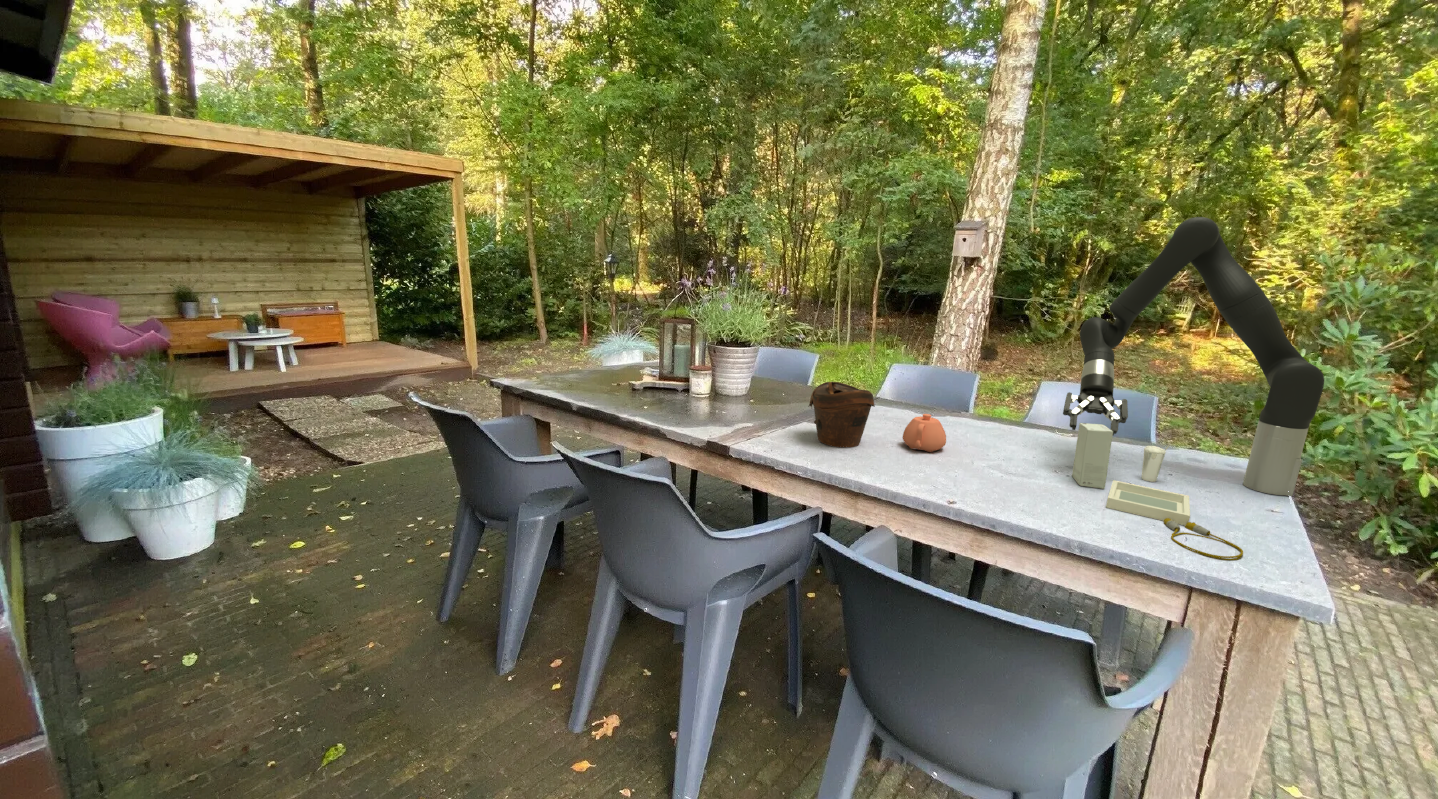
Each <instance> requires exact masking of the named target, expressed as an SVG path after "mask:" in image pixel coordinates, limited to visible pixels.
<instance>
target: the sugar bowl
mask: <svg viewBox="0 0 1438 799" xmlns="http://www.w3.org/2000/svg"><path fill="white" fill-rule="evenodd" d="M902 441H903V442H904V443H905V445H907V447H909V449H912V450H920V451H925V452H927V453H933V452H934V451H939V450H941V449H942V448H944V447H945V446H946V444H947V436H946V431H945V429H944V427H943V425H942V423H941V421H940V420H939V419H938V418H934V417H932V414H930V413H922V416H915V417H913V418H912V419H911V420H910V421H909V423H907V425H906V426H905V429H904V430H903V434H902Z"/></svg>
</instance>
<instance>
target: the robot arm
mask: <svg viewBox="0 0 1438 799" xmlns="http://www.w3.org/2000/svg"><path fill="white" fill-rule="evenodd" d="M1158 254H1159V255H1157V256H1156V257H1155V259H1154V260H1153V261H1152V263H1151V264H1150V265H1148V266H1147V267H1146V269H1145V270H1143V272H1141V273H1140V274H1139V275H1138V276H1137V277H1136V278H1135V279H1134V280H1133V281H1132V282H1130V283H1129V285H1127V287H1126V288H1125V289H1124V290H1123V291H1121V293H1120V294H1119V295H1118V296H1117V297H1116V298H1115V299H1114V301H1112V303H1111V304H1110V305H1109V307H1108V308H1109V309H1108V310H1109V312H1110V313H1111V314H1112V315H1113V316H1115V320H1114V322H1113V323H1111V322H1109V321H1107V320H1105V319H1103V318H1102V317H1097V316H1095V317H1094V316H1093V317H1089V318H1087V320H1085V321H1084V322H1083V324H1082V326H1081V327H1080V330H1079V338H1080V340H1079V341H1080V344H1081V348H1082V351H1083V354H1084V357H1083V358H1084V360H1083V366H1082V367H1083V368H1082V371H1081V376H1080V389H1079V395H1075V394H1073V393H1072V392H1070V391H1069V392H1066V393H1067V394H1066V396H1065V399H1064V400H1065V401H1064V407H1063V409H1062V410H1063V411H1062V415H1063V416H1068V417H1069V427H1070V428H1071V430H1072V431H1076V429H1077V424H1078V417H1079V415H1082V414H1084V413H1085V412H1087V413H1088V414H1096V415H1104V417H1105V418H1106V419H1108V420H1109V421H1110V428H1109V429H1110V430H1112V431H1113V436H1114V435H1116V434H1117V433H1118V431H1119V424H1120V423H1121V424H1125V423H1126V422H1127V420H1128V418H1129V407H1128V405H1129V404H1128V400H1127V399H1126V398H1123V399H1121V400H1115V399H1114V387H1115V367H1114V366H1115V352H1114V350H1113V349H1116V348H1117V347H1118V346H1119V345H1120V344H1121V343H1122V341H1123V340H1124V339H1125V337H1126V334H1128V331H1129V329H1130V327H1131V326H1132V324H1133V323H1134V321H1135V320H1136V318H1137V317H1138V316H1139V315H1140V314H1141V313H1142V312H1143V311H1144V310H1145V309H1146V308H1147V307H1148V306H1149V305H1150V304H1152V302H1153V301H1154V300H1155V299H1156V298H1157V296H1158V295H1159V294H1160V292H1162V291H1163V290H1164V288H1165V287H1166V286H1167V285H1168V284H1169V282H1170V281H1171V280H1172V279H1173V278H1174V277H1175V276H1176V275H1178V273H1179V272H1180V271H1182V270H1183V269H1184V268H1185V267H1186V266H1188V264H1190V263H1191V264H1192V266H1193V267H1194V268H1195V269H1196V270H1197V272H1198V273H1199V275H1200V277H1201V278H1202V280H1203V283H1204V285H1205V287H1206V289H1207V291H1208V294H1209V296H1210V298H1211V300H1212V301H1213V303H1214V305H1215V308H1217V309H1218V312H1219V313H1220V315H1221V316H1222V317H1223V318H1224V320H1225V322H1226V323H1227V324H1228V325H1229V327H1230V328H1231V329H1232V331H1233V332H1234V333H1235V334H1236V336H1237V337H1238V338H1239V339H1240V340H1241V341H1242V343H1244V344H1245V345H1246V346H1247V348H1248V349H1249V351H1251V353H1252V355H1253V356H1254V357H1255V359H1256V361H1257V363H1258V365H1259V367H1260V369H1261V371H1262V373H1263V375H1264V378H1265V380H1266V381H1267V384H1268V386H1269V391H1268V394H1267V398H1266V403H1265V404H1264V407H1263V409H1261V412H1260V414H1259V417H1258V418H1259V419H1258V422H1257V425H1256V429H1255V433H1254V437H1253V438H1254V439H1253V441H1252V446H1251V450H1250V454H1249V458H1248V462H1247V465H1246V470H1245V474H1244V477H1243V482H1242V485H1243V486H1244V487H1246V488H1248V489H1251V490H1254V491H1256V492H1261V493H1265V494H1269V495H1276V496H1287V497H1293V495H1294V492H1295V488H1296V485H1297V481H1298V476H1299V473H1300V470H1301V466H1302V464H1303V459H1302V454H1303V450H1304V446H1305V442H1306V439H1307V435H1308V431H1309V428H1310V425H1311V422H1312V420H1313V419H1314V418H1315V415H1316V413H1317V410H1318V407H1319V404H1320V400H1321V397H1322V394H1323V390H1324V385H1325V376H1324V374H1323V372H1322V370H1321V369H1320V368H1319V367H1318V366H1316V365H1315V364H1312V363H1311V362H1308V360H1306V359H1305V358H1304V357H1303V355H1302V354H1301V353H1300V352H1299V351H1298V350H1297V349H1296V347H1295V346H1294V345H1293V344H1292V342H1291V341H1290V340H1289V339H1288V337H1287V336H1286V333H1285V331H1284V328H1283V326H1282V324H1281V320H1280V317H1279V316H1278V313H1277V312H1276V310H1275V307H1274V306H1273V305H1272V302H1271V300H1269V298H1268V296H1267V295H1266V294H1265V292H1264V291H1263V289H1261V287H1260V286H1259V285H1258V283H1257V282H1256V281H1255V280H1254V279H1253V277H1252V276H1251V275H1250V274H1249V273H1248V272H1247V271H1246V270H1245V268H1243V266H1241V265H1240V264H1239V263H1238V262H1237V261H1236V259H1235V258H1234V257H1233V256H1232V254H1231V252H1230V250H1229V249H1228V247H1227V245H1226V244H1225V242H1224V239H1223V238H1222V235H1221V234H1220V229H1219V226H1218V224H1217V223H1216V222H1215V221H1214V220H1212V219H1211V218H1208V217H1204V216H1196V217H1190V218H1188V219H1186V220H1184V221H1182V222H1181V223H1180V224H1179V225H1178V226H1177V227H1176V229H1175V230H1174V232H1173V234H1172V236H1171V238H1170V239H1169V241H1168V242H1167V244H1165V246H1164V248H1163V249H1162V250H1161V252H1160V253H1158ZM1075 401H1077V403H1078V405H1077V406H1076V407H1075V408H1074V409H1071V408H1070V407H1071V404H1073V403H1075ZM1114 406H1116V408H1117V409H1118V410H1119V415H1118V413H1116V411H1115V408H1113V407H1114ZM1113 436H1112V437H1113ZM1288 491H1289V492H1288Z"/></svg>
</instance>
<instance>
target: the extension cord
mask: <svg viewBox="0 0 1438 799" xmlns="http://www.w3.org/2000/svg"><path fill="white" fill-rule="evenodd" d="M1162 521H1163V520H1162ZM1163 524H1164V525H1165V526H1166V527H1167V528H1168V529H1170V530H1172V531H1173V532H1172V533H1171V536H1170V538H1171V541H1173V542H1174V543H1175V544H1177V545H1178V546H1180V547H1181V548H1184V549H1185V550H1187V551H1190V552H1191V553H1194V554H1197V555H1201V556H1204V557H1208V558H1212V559H1215V560H1216V559H1217V560H1223V561H1237V560H1239V559H1241V558H1242V556H1243V554H1244V550H1243V548H1242V547H1240V546H1238V545H1237V544H1234V543H1233V542H1231V541H1229V540H1226V539H1224V538H1221V537H1219V536H1217V535H1215V534H1213V533H1211V530H1209V529H1207V528H1205V527H1203V526H1201V525H1199V524H1197V523H1196V522H1191V521H1189V522H1188V523H1187V524H1186V526H1184V528H1185V529H1187V530H1189V531H1191V532H1194V533H1190V532H1185V531H1183V532H1180V531H1181V526H1180V524H1177V523H1176V522H1175V521H1173V520H1171V519H1170V518H1166V519H1164V521H1163ZM1196 533H1197V534H1196ZM1179 535H1189V536H1195V537H1201V538H1204V539H1205V538H1206V539H1209V540H1213V541H1216V542H1219V543H1223V544H1226V545H1228V546H1231V547H1233V548H1235V549H1236V550H1238V551H1239V552H1240V553H1239V554H1236V555H1233V556H1231V555H1230V556H1229V555H1228V556H1227V555H1217V554H1212V553H1209V552H1205V551H1201V550H1198V549H1195V548H1192V547H1190V546H1188V545H1186V544H1184V543H1182V542H1180V541H1178V540H1177V539H1175V538H1174V537H1176V536H1179Z"/></svg>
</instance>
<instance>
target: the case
mask: <svg viewBox="0 0 1438 799" xmlns="http://www.w3.org/2000/svg"><path fill="white" fill-rule="evenodd" d="M809 407H810V409H811V410H812V407H813V412H814V419H815V420H813V423H814V424H815V428H816V435H817V437H816V438H817V440H818V441H819V442H820V443H822V444H824V445H826V446H829V447H833V448H834V447H835V448H854V447H857V446H859V445H860V444H861V441H862V438H863V435H864V434H863V433H864V432H865V428H866V425H867V421H868V420H869V416H870V411H871V408H872V407H875V399H874V393H872V391H870V390H867V389H859V388H858V387H855V386H852V385H850V384H846V383H842V382H837V381H826V382H823V383H820V384H818V386H816V387H815V389H813V391H812V393H811V395H810V399H809V405H808V408H809Z"/></svg>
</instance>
